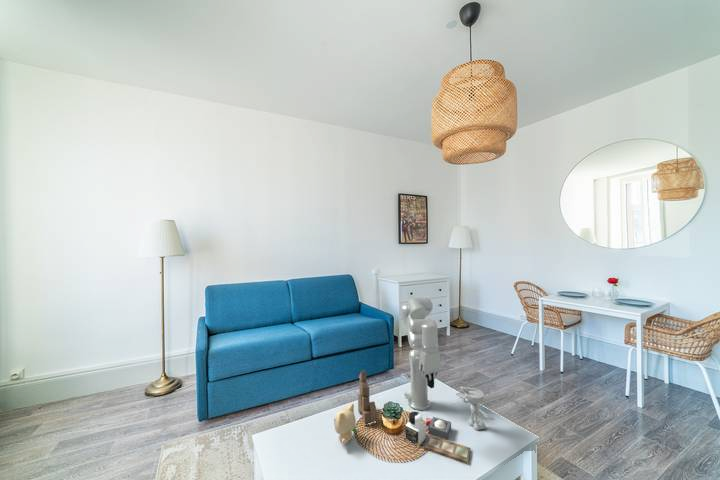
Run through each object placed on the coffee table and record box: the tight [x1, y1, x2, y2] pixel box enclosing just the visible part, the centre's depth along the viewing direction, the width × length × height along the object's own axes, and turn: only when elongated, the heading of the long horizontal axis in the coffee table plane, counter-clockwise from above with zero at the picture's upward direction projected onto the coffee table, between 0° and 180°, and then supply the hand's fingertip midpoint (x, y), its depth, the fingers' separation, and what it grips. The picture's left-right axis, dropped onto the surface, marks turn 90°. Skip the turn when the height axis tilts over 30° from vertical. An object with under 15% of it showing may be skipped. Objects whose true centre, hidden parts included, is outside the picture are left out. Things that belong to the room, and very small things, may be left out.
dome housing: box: [428, 416, 452, 441], centre depth 138 cm, size 9×9×4 cm
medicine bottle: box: [404, 411, 427, 447], centre depth 133 cm, size 7×7×12 cm
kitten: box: [333, 403, 357, 445], centre depth 134 cm, size 15×10×15 cm
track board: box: [425, 434, 472, 465], centre depth 126 cm, size 18×9×1 cm, turn 61°
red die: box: [425, 417, 432, 428], centre depth 143 cm, size 3×3×3 cm
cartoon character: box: [455, 386, 496, 431], centre depth 141 cm, size 25×12×20 cm, turn 19°
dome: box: [434, 420, 446, 430], centre depth 138 cm, size 5×5×5 cm
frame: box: [421, 433, 430, 449], centre depth 133 cm, size 11×11×1 cm
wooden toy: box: [357, 370, 377, 424], centre depth 151 cm, size 16×7×25 cm, turn 15°
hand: (430, 386), depth 136 cm, fingers closed
